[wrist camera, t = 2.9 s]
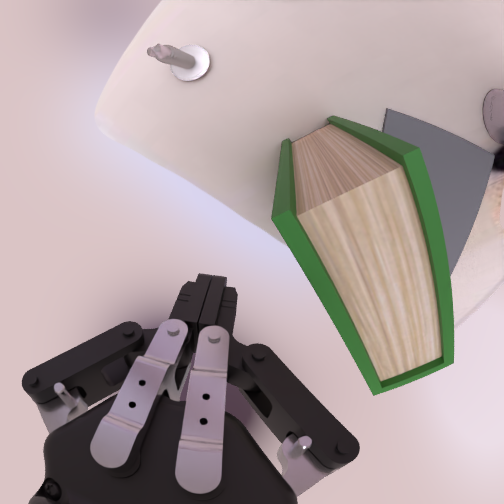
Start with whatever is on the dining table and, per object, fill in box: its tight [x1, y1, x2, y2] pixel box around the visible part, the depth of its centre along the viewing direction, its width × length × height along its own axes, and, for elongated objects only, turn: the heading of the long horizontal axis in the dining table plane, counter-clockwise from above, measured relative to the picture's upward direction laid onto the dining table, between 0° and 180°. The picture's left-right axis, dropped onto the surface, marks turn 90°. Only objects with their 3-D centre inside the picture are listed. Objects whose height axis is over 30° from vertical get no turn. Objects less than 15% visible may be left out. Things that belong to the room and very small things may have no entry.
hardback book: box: [271, 116, 454, 395], centre depth 24 cm, size 18×7×24 cm, turn 32°
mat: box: [382, 109, 495, 276], centre depth 34 cm, size 22×24×1 cm
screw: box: [147, 44, 210, 81], centre depth 22 cm, size 13×5×5 cm
